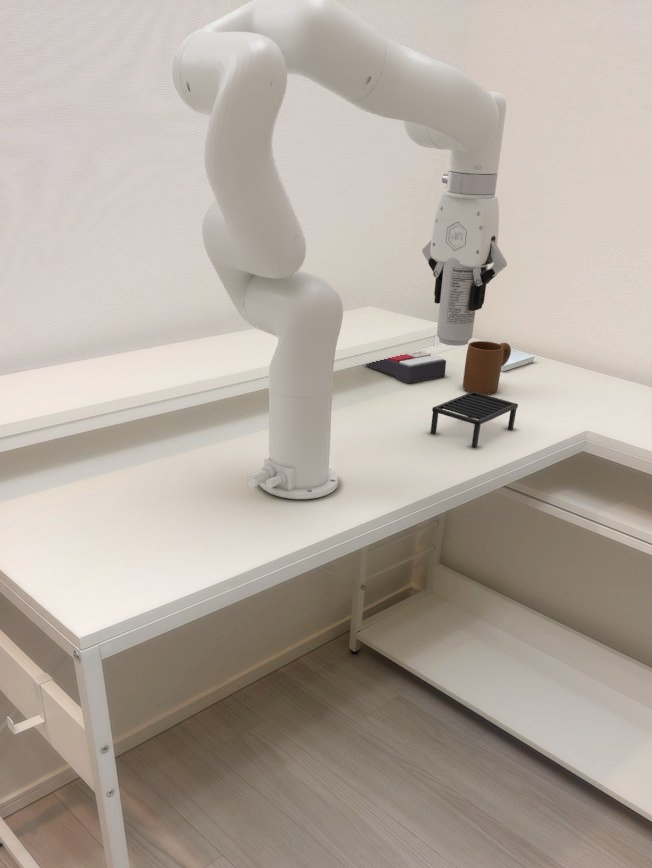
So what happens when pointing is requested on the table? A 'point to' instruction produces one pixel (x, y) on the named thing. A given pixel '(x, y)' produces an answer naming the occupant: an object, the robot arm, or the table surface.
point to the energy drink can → (455, 304)
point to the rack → (475, 411)
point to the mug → (484, 366)
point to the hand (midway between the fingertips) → (458, 304)
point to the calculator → (412, 367)
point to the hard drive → (517, 360)
